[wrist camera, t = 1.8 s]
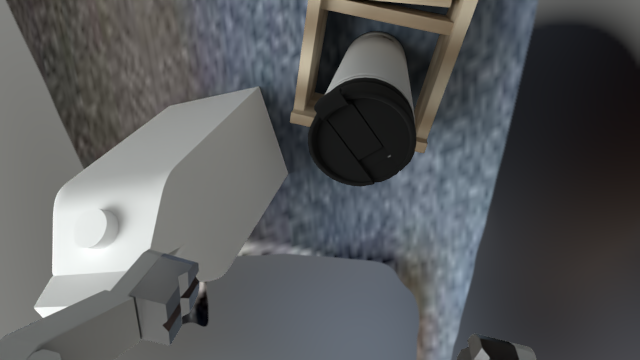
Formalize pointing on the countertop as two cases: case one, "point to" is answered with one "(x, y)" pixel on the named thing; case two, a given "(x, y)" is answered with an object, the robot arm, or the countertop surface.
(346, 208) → the countertop surface
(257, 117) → the milk
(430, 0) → the offcut top
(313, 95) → the birch rack
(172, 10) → the countertop surface
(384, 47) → the travel mug
